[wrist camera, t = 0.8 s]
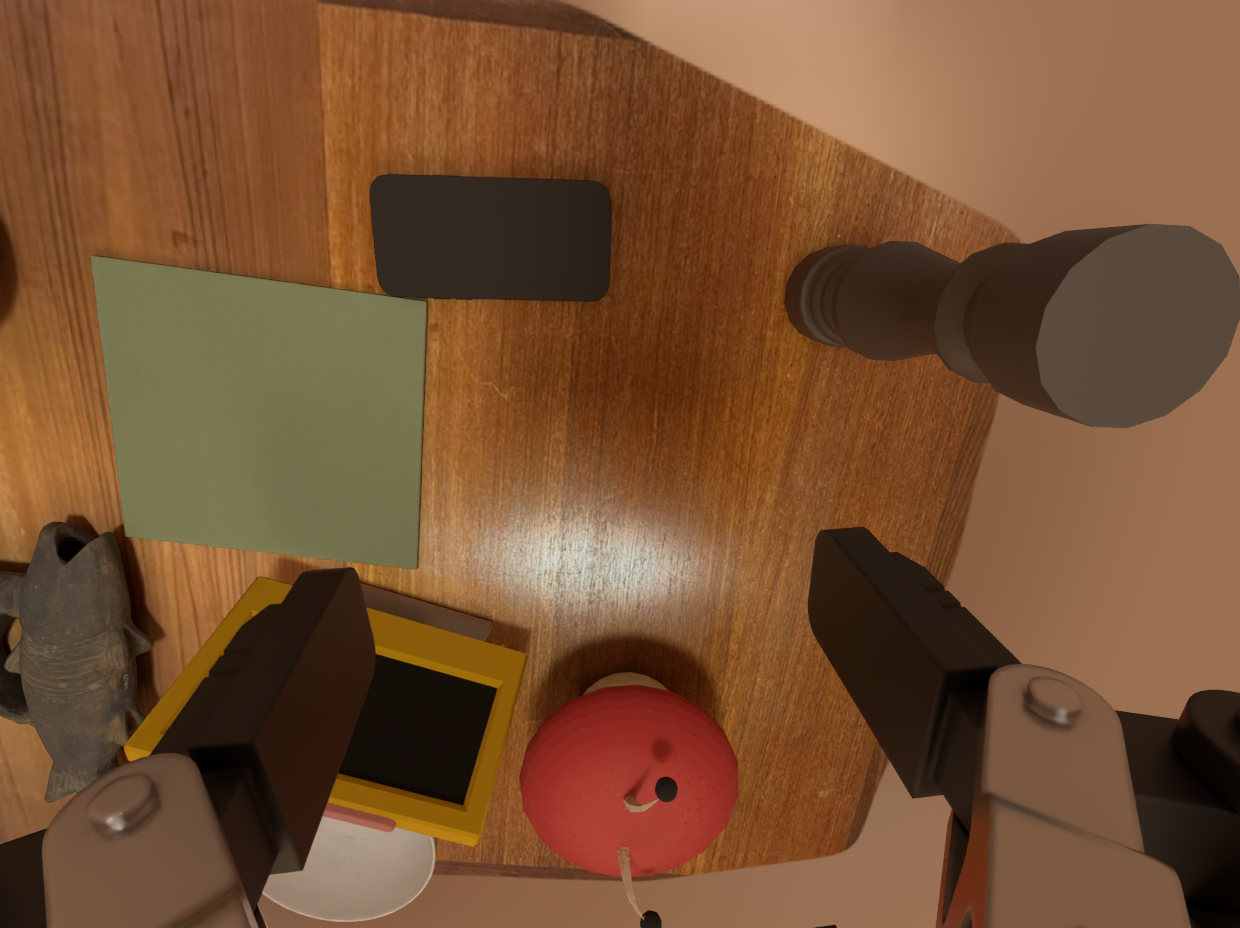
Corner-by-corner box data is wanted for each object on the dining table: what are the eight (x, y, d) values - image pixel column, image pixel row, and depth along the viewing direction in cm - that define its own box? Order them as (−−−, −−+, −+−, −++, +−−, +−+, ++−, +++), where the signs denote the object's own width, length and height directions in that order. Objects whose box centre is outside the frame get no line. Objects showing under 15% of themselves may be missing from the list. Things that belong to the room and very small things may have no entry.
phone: (608, 303, 40) (378, 297, 39) (608, 302, 41) (383, 297, 40) (611, 180, 38) (367, 172, 37) (611, 181, 38) (371, 174, 38)
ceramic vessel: (107, 561, 40) (-104, 505, 41) (109, 846, 47) (-71, 795, 48) (168, 533, 45) (-20, 483, 46) (162, 795, 52) (-2, 749, 52)
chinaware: (263, 704, 50) (204, 779, 43) (442, 689, 50) (413, 761, 43) (308, 841, 55) (262, 929, 48) (472, 827, 55) (451, 914, 47)
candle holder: (895, 284, 41) (1297, 306, 17) (833, 359, 42) (1121, 476, 18) (827, 226, 39) (1156, 161, 16) (765, 305, 41) (980, 355, 17)
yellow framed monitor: (534, 627, 48) (499, 789, 33) (506, 704, 51) (462, 888, 36) (282, 553, 46) (124, 690, 31) (265, 637, 48) (109, 803, 33)
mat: (95, 255, 39) (89, 255, 39) (428, 301, 41) (426, 301, 40) (129, 534, 45) (125, 536, 45) (418, 567, 47) (416, 569, 46)
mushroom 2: (707, 786, 54) (742, 974, 39) (529, 776, 53) (499, 964, 39) (732, 633, 49) (783, 783, 35) (537, 620, 48) (506, 768, 34)
